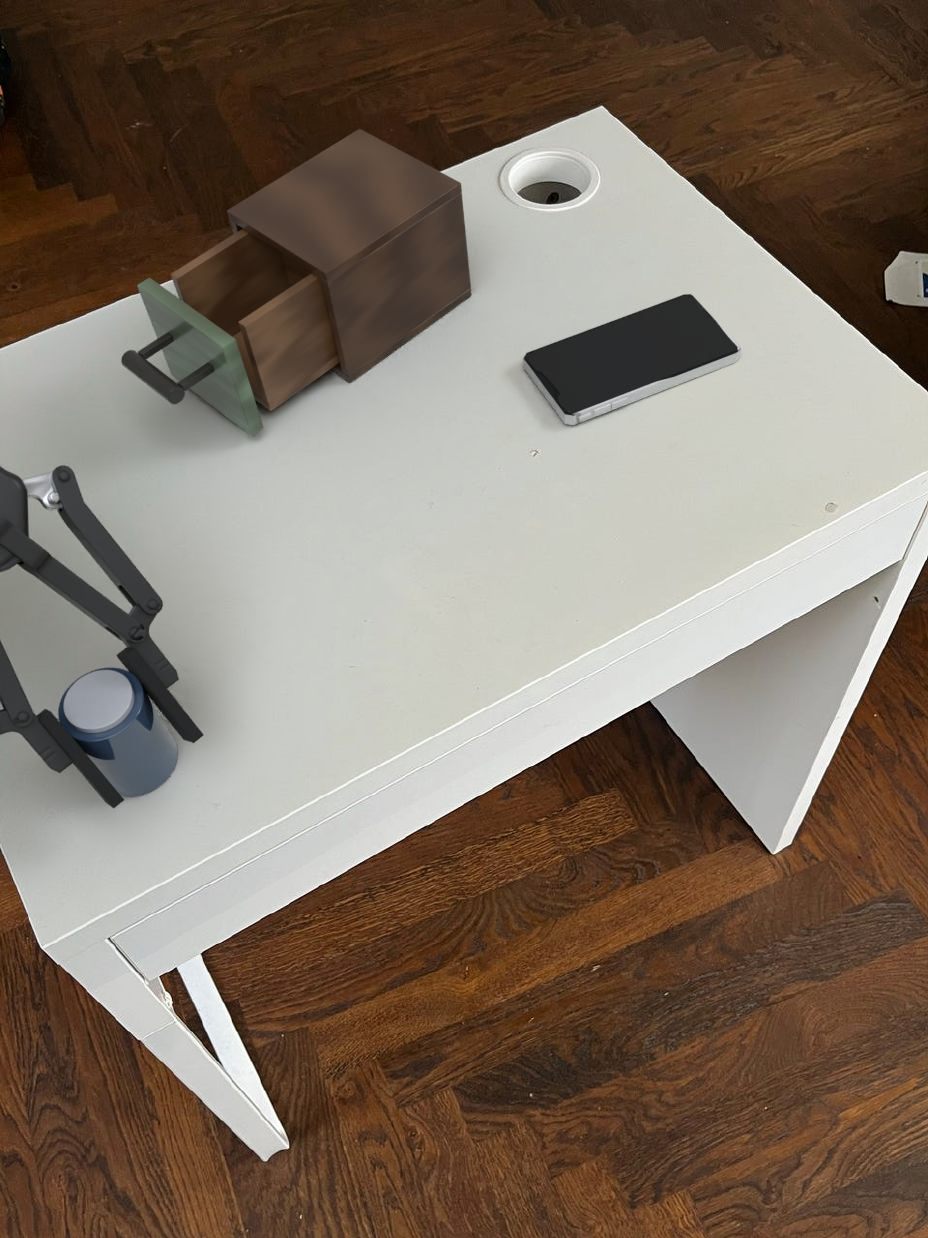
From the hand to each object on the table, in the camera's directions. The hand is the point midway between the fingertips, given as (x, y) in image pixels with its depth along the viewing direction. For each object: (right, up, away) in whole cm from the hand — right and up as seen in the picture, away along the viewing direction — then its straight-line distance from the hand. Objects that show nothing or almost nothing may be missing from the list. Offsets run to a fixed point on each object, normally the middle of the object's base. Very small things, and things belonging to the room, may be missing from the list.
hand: (154, 768), depth 67 cm
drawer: (+1, +28, +23) cm, 36 cm away
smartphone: (+31, +28, +22) cm, 47 cm away
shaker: (-2, 0, +5) cm, 5 cm away
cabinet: (+10, +35, +28) cm, 46 cm away
